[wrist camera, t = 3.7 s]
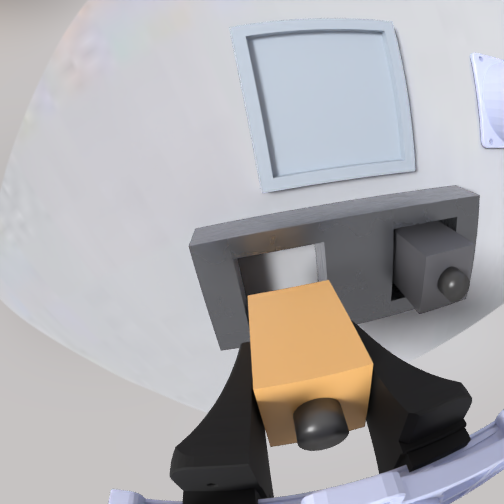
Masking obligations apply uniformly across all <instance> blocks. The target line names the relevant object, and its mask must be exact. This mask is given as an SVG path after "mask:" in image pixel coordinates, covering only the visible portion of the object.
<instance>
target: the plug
mask: <svg viewBox="0 0 504 504" xmlns="http://www.w3.org/2000/svg"><path fill="white" fill-rule="evenodd" d="M248 310H249V327H250V344H251V360H252V376H253V390H254V394H255V397H256V400H257V404H258V407H259V410H260V414H261V417H262V420H263V424H264V427H265V430H266V433H267V437H268V439H269V443H270V446H271V447H273V446H280V445H286V444H292V443H298V446H299V447H300V448H302V449H304V450H309V451H315V450H323V449H327V448H330V447H333V446H335V445H337V444H339V443H341V442H342V441H343V440H344V439H345V438H346V437H347V436H348V434H349V431H351V430H354V429H358V428H362V427H364V426H365V422H366V416H367V410H368V403H369V396H370V388H371V380H372V372H373V362H372V360H371V358H370V356H369V354H368V352H367V350H366V348H365V346H364V344H363V342H362V341H361V339H360V337H359V335H358V333H357V331H356V329H355V327H354V325H353V323H352V322H351V320H350V318H349V316H348V314H347V312H346V310H345V308H344V307H343V305H342V303H341V301H340V299H339V297H338V296H337V294H336V292H335V290H334V288H333V287H332V285H331V283H330V281H329V280H326V281H321V282H316V283H311V284H306V285H301V286H296V287H291V288H286V289H280V290H275V291H270V292H264V293H259V294H253V295H248Z"/></svg>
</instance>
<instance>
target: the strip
mask: <svg viewBox="0 0 504 504" xmlns="http://www.w3.org/2000/svg"><path fill="white" fill-rule="evenodd" d="M479 198H480V195H478V194H476V193H473V192H471V191H468V190H466V189H464V188H461V187H459V186H456V185H455V186H447V187H439V188H432V189H424V190H417V191H410V192H403V193H396V194H389V195H382V196H376V197H369V198H363V199H356V200H350V201H344V202H338V203H332V204H326V205H320V206H314V207H308V208H302V209H297V210H291V211H285V212H280V213H274V214H269V215H263V216H258V217H253V218H247V219H242V220H237V221H232V222H227V223H221V224H216V225H211V226H206V227H202V228H197V229H195V231H194V234H193V236H192V239H191V241H190V244H189V249H190V253H191V256H192V260H193V263H194V266H195V270H196V273H197V277H198V280H199V283H200V287H201V290H202V293H203V296H204V300H205V303H206V306H207V309H208V312H209V316H210V319H211V322H212V325H213V328H214V331H215V334H216V337H217V340H218V343H219V346H220V349H221V350H228V349H235V348H240V345H241V343H244V342H250V327H249V310H248V303H247V298H246V294H245V289H244V285H243V281H242V276H241V272H240V268H239V263H238V259H237V258H242V257H247V256H252V255H258V254H263V253H268V252H274V251H279V250H285V249H290V248H295V247H301V246H306V245H311V244H315V252H316V262H317V272H318V282H321V281H326V280H329V281H330V283H331V285H332V287H333V288H334V290H335V292H336V294H337V296H338V297H339V299H340V301H341V303H342V305H343V307H344V308H345V310H346V312H347V314H348V316H349V318H350V320H351V321H353V322H355V323H356V324H360V323H364V322H368V321H372V320H376V319H380V318H383V317H387V316H391V315H394V314H398V313H401V312H405V311H408V310H412V309H415V308H414V307H413V306H412V304H411V303H410V302H409V301H408V299H407V298H406V297H405V296H404V295H403V293H402V292H401V291H400V290H399V289H398V288H397V286H396V285H395V284H394V283H393V282H392V276H393V229H396V228H401V227H406V226H411V225H417V224H422V223H427V222H432V221H437V220H438V221H439V222H441V223H443V224H444V225H446V226H447V227H449V228H451V229H452V230H454V231H455V232H457V233H459V234H460V235H462V236H463V237H465V238H466V239H468V240H469V241H471V242H472V243H474V244H475V246H476V237H477V227H478V215H479ZM474 253H475V248H474ZM473 260H474V255H473ZM472 267H473V262H472ZM471 273H472V268H471ZM470 279H471V275H470ZM469 281H470V280H469ZM467 292H468V291H467Z"/></svg>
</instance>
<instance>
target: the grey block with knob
mask: <svg viewBox="0 0 504 504" xmlns="http://www.w3.org/2000/svg"><path fill="white" fill-rule="evenodd" d="M474 248H475V244H474V243H472V242H471V241H469V240H468V239H466V238H465V237H463V236H462V235H460V234H459V233H457V232H455V231H454V230H452V229H451V228H449V227H447V226H446V225H444V224H443V223H441V222H439V221H438V220H437V221H432V222H427V223H422V224H417V225H411V226H406V227H401V228H396V229H393V276H392V282H393V283H394V284H395V285H396V286H397V288H398V289H399V290H400V291H401V292H402V293H403V295H404V296H405V297H406V298H407V299H408V301H409V302H410V303H411V304H412V306H413V307H414V308H415V309H416V310H417V312H418V313H419V314H422V313H425V312H428V311H431V310H434V309H437V308H440V307H443V306H446V305H449V304H452V303H455V302H458V301H461V300H463V299H466V296H467V291H468V289H469V285H470V281H469V280H470V275H471V268H472V262H473V255H474Z"/></svg>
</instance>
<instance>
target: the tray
mask: <svg viewBox="0 0 504 504" xmlns="http://www.w3.org/2000/svg"><path fill="white" fill-rule="evenodd" d="M230 35H231V39H232V44H233V49H234V54H235V58H236V63H237V68H238V73H239V78H240V83H241V88H242V93H243V98H244V103H245V108H246V113H247V118H248V123H249V128H250V134H251V139H252V144H253V149H254V155H255V160H256V165H257V171H258V176H259V182H260V187H261V191H262V193H267V192H273V191H279V190H284V189H290V188H296V187H302V186H308V185H314V184H321V183H327V182H334V181H341V180H348V179H355V178H362V177H370V176H377V175H385V174H393V173H402V172H411V171H415V155H414V143H413V132H412V123H411V114H410V107H409V100H408V93H407V87H406V81H405V75H404V70H403V65H402V60H401V55H400V51H399V46H398V42H397V38H396V34H395V30H394V26H393V22H392V21H383V20H370V19H351V18H313V19H293V20H280V21H270V22H261V23H253V24H246V25H239V26H233V27H230Z"/></svg>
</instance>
